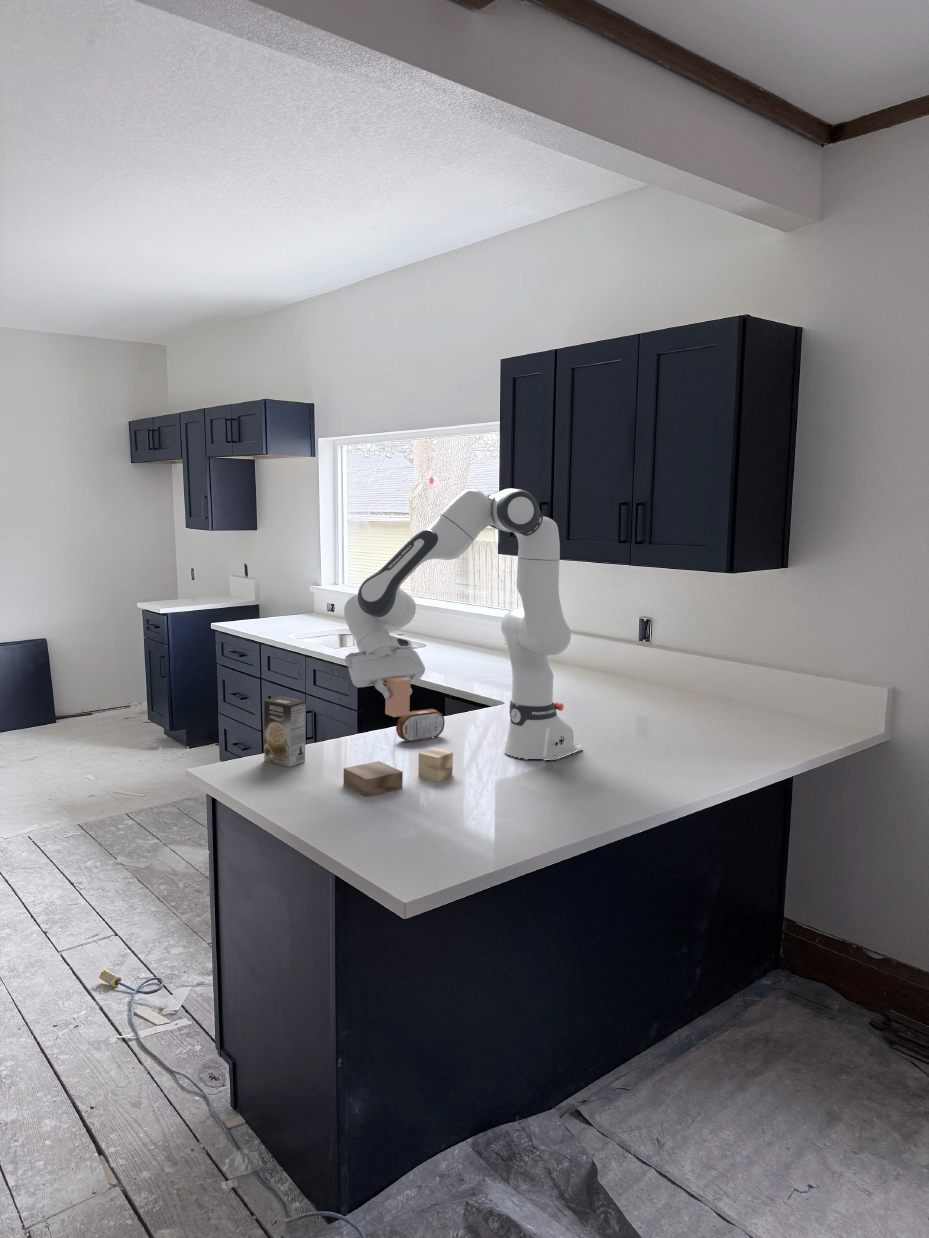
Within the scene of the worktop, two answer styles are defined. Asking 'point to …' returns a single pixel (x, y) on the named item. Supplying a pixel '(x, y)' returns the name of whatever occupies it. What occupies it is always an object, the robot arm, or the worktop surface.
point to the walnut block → (373, 778)
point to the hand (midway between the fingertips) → (399, 695)
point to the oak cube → (435, 764)
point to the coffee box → (284, 731)
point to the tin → (420, 725)
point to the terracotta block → (398, 696)
